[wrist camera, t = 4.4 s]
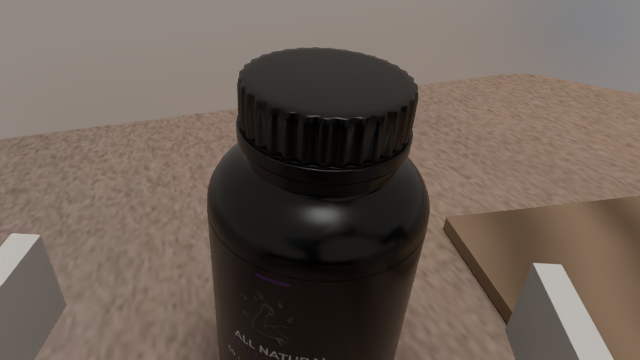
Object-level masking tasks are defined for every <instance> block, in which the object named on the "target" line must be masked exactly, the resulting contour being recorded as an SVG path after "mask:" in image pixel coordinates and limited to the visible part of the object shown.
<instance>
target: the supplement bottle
mask: <svg viewBox="0 0 640 360" xmlns="http://www.w3.org/2000/svg"><path fill="white" fill-rule="evenodd" d="M237 91H238V92H237V93H238V117H237V121H236V131H237V141H238V143H237V144H236V145H235V146H233V147H232V148H231V149H230V150H229V151H228V152H227V153H226V154H225V155H224V157H223V158H222V159H221V161H220V162H219V164H218V165H217V167H216V168H215V170H214V172H213V175H212V177H211V179H210V183H209V186H208V193H207V213H208V226H209V238H210V250H211V261H212V273H213V285H214V297H215V309H216V321H217V333H218V344H219V353H220V360H394V356H395V352H396V348H397V344H398V340H399V336H400V332H401V329H402V325H403V321H404V317H405V313H406V309H407V305H408V301H409V297H410V293H411V289H412V285H413V282H414V278H415V274H416V270H417V266H418V262H419V258H420V254H421V250H422V246H423V242H424V238H425V234H426V230H427V225H428V219H429V213H430V202H429V196H428V192H427V189H426V186H425V183H424V180H423V178H422V176H421V174H420V172H419V171H418V169H417V168H416V166H415V165H414V163H413V162H412V161H411V160H410V159H409V158H408V155H409V152H410V148H411V144H412V138H413V131H412V127H413V122H414V117H415V112H416V107H417V102H418V86H417V84H416V83H414V78H412V77H411V76H409V75H408V73H407V72H406V71H404V70H402V69H400V68H399V67H398V66H397V65H394V64H391V63H389V62H388V61H386V60H383V59H379V58H377V57H375V56H371V55H366V54H363V53H359V52H352V51H348V50H340V49H333V48H317V47H315V48H297V49H286V50H282V51H275V52H272V53H270V54H265V55H262V56H260V57H259V58H255V59H252V60H251V62H250V63H248V64H246V65H244V69H242V70H241V71H240V73H239V78H238V84H237Z"/></svg>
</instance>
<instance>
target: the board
mask: <svg viewBox="0 0 640 360" xmlns="http://www.w3.org/2000/svg"><path fill="white" fill-rule="evenodd" d="M443 229H444V230H445V232H446V233H447V235H448V236H449V238H450V239H451V241H452V242H453V244H454V245H455V247H456V248H457V250H458V251H459V253H460V254H461V256H462V257H463V259H464V260H465V262H466V263H467V265H468V266H469V268H470V269H471V271H472V272H473V274H474V275H475V277H476V278H477V280H478V281H479V283H480V284H481V286H482V287H483V289H484V290H485V292H486V293H487V295H488V296H489V298H490V299H491V301H492V302H493V304H494V305H495V307H496V308H497V310H498V311H499V313H500V314H501V316H502V317H503V319H504V320H505V322H506V323H507V324H508V322H509V319H510V317H511V315H512V312H513V310H514V307H515V305H516V303H517V300H518V298H519V295H520V293H521V290H522V288H523V286H524V283H525V281H526V278H527V276H528V274H529V271H530V269H531V266H532V264H533V263H543V264H561V265H562V266H563V268H564V270H565V272H566V274H567V275H568V277H569V279H570V281H571V283H572V285H573V286H574V288H575V290H576V292H577V294H578V295H579V297H580V299H581V301H582V303H583V305H584V306H585V308H586V310H587V312H588V314H589V316H590V317H591V319H592V321H593V323H594V325H595V326H596V328H597V330H598V332H599V334H600V336H601V337H602V339H603V341H604V343H605V345H606V346H607V348H608V350H609V352H610V354H611V356H612V357H613V359H614V360H640V196H636V197H627V198H618V199H609V200H600V201H590V202H581V203H572V204H563V205H554V206H545V207H536V208H527V209H518V210H509V211H500V212H491V213H482V214H473V215H464V216H454V217H446V220H445V224H444V228H443Z"/></svg>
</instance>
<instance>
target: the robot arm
mask: <svg viewBox="0 0 640 360" xmlns="http://www.w3.org/2000/svg"><path fill="white" fill-rule="evenodd" d="M65 307H66V303H65V300H64V297H63V294H62V292H61V289H60V286H59V284H58V281H57V278H56V275H55V273H54V270H53V267H52V265H51V262H50V259H49V256H48V254H47V251H46V248H45V246H44V243H43V240H42V237H41V235H31V234H14V233H12V234H11V235H10V236H9V237H8V238H7V240H6V241H5V242H4V243H3V244H2V245H1V247H0V360H34V359H35V357H36V355H37V354H38V352H39V350H40V349H41V347H42V345H43V344H44V342H45V340H46V339H47V337H48V335H49V334H50V332H51V330H52V329H53V327H54V325H55V324H56V322H57V320H58V319H59V317H60V315H61V314H62V312H63V310H64V309H65ZM505 331H506V334H507V336H508V339H509V342H510V345H511V348H512V350H513V353H514V356H515V359H516V360H614V359H613V357H612V356H611V354H610V352H609V350H608V348H607V346H606V345H605V343H604V341H603V339H602V337H601V336H600V334H599V332H598V330H597V328H596V326H595V325H594V323H593V321H592V319H591V317H590V316H589V314H588V312H587V310H586V308H585V306H584V305H583V303H582V301H581V299H580V297H579V295H578V294H577V292H576V290H575V288H574V286H573V285H572V283H571V281H570V279H569V277H568V275H567V274H566V272H565V270H564V268H563V266H562V265H561V264H543V263H533V264H532V266H531V269H530V271H529V274H528V276H527V278H526V281H525V283H524V286H523V288H522V290H521V293H520V295H519V298H518V300H517V303H516V305H515V307H514V310H513V312H512V315H511V317H510V319H509V322H508V324H507V327H506V329H505Z"/></svg>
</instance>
